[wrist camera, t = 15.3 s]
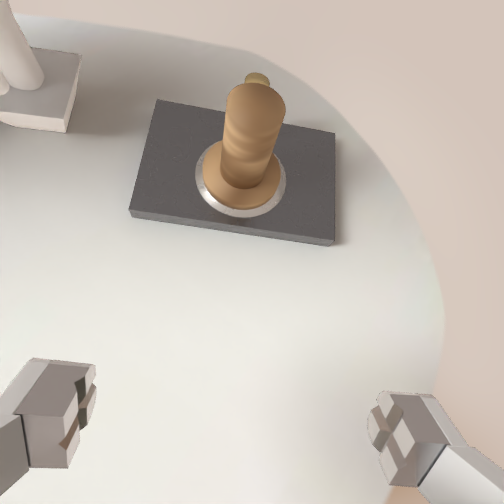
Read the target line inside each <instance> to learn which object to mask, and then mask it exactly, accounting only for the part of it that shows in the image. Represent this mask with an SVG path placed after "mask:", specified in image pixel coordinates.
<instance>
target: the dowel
mask: <svg viewBox="0 0 504 504" xmlns="http://www.w3.org/2000/svg"><path fill="white" fill-rule="evenodd" d="M245 83H260V84H263V85H266V86H268V87H269V85H270V83H269V80H268V78H267V77H266V76H264V75H263V74H260V73H250V74H248V75H247V76H246V78H245Z"/></svg>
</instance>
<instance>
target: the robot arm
mask: <svg viewBox="0 0 504 504" xmlns="http://www.w3.org/2000/svg"><path fill="white" fill-rule="evenodd" d="M95 376H96V368H95V365H93V364H86V363H77V362H69V361H60V360H49V359H40V358H32V359H31V360H29V361H28V362H26V364H25V365H24V366H23V368H22V369H21V370H20V371H19V373H18V374H17V375H16V377H15V378H14V379H13V380H12V382H11V383H10V384H9V386H8V387H7V388H6V389H5V391H4V392H3V393H2V394H1V396H0V496H1V495H2V494H3V493H4V492H5V491H7V490H8V489H9V488H10V487H11V486H12V485H13V484H14V483H15V482H17V481H18V480H19V479H20V478H21V477H22V476H23V475H24V474H25V473H27V472H28V471H29V468H68V467H69V465H70V463H71V460H72V458H73V456H74V454H75V451H76V449H77V447H78V445H79V442H80V433H79V431H80V430H81V429H83V428H84V427H85V426H86V425H87V424H88V422H89V420H90V417H91V415H92V412H93V408H94V405H95V399H96V386H95V385H94V384H93V383H92V382H93V380H94V378H95ZM376 400H377V403H378V406H376V407H375V408H373V409H372V410H371V412H370V414H369V416H368V424H367V429H368V434H369V437H370V440H371V442H372V445H373V446H374V447H375V448H376V449H377V450H378V451H379V452H380V457H379V462H380V465H381V467H382V469H383V472H384V474H385V477H386V479H387V482H388V484H389V485H394V486H406V487H407V486H408V487H418V490H419V491H420V493H421V494H422V495H423V496H424V497H425V498H426V500H427V501H428V502H429V503H430V504H504V470H503V469H501V468H500V467H499V466H498V465H496V464H495V463H494V462H493V461H491V460H490V459H489V458H487V457H486V456H485V455H484V454H482V453H481V452H480V451H478V450H477V449H476V448H474V447H469V446H468V444H467V443H466V441H465V440H464V438H463V437H462V435H461V434H460V433H459V431H458V430H457V428H456V427H455V425H454V424H453V422H452V421H451V419H450V418H449V416H448V415H447V414H446V412H445V411H444V409H443V408H442V406H441V405H440V403H439V402H438V400H437V399H436V398H435V397H434V396H432V395H428V394H416V393H415V394H413V393H405V392H392V391H382V392H381V393H379V395H378V397H377V399H376Z"/></svg>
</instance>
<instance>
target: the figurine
mask: <svg viewBox="0 0 504 504" xmlns="http://www.w3.org/2000/svg"><path fill="white" fill-rule="evenodd" d="M81 56H82V55H80V54H74V53H67V52H61V51H54V50H47V49H41V48H34V47H30V46H29V44H28V42H27V41H26V39H25V37H24V35H23V33H22V31H21V29H20V27H19V25H18V23H17V21H16V20H15V18H14V16H13V14H12V11H11V8H10V5H9V1H8V0H0V121H2V122H4V123H7V124H9V125H12V126H14V127H20V128H29V129H37V130H46V131H54V132H62V133H66V130H67V126H68V123H69V119H70V115H71V112H72V108H73V104H74V101H75V97H76V91H77V84H78V77H79V70H80V63H81Z"/></svg>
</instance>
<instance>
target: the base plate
mask: <svg viewBox="0 0 504 504" xmlns="http://www.w3.org/2000/svg"><path fill="white" fill-rule="evenodd" d="M225 114H226V112H221V111H216V110H210V109H205V108H200V107H195V106H189V105H184V104H179V103H174V102H169V101H163V100H158V99H157V101H156V105H155V109H154V113H153V117H152V121H151V125H150V129H149V133H148V136H147V140H146V144H145V148H144V152H143V156H142V160H141V164H140V167H139V171H138V175H137V179H136V183H135V187H134V191H133V195H132V199H131V202H130V206H129V211H130V213H131V216H132V217H134V218H141V219H148V220H154V221H161V222H168V223H174V224H181V225H188V226H195V227H201V228H208V229H215V230H221V231H228V232H235V233H241V234H248V235H255V236H261V237H268V238H275V239H282V240H288V241H295V242H302V243H308V244H315V245H322V246H330V245H331V244H332V243H333V242H334V241H335V133H331V132H325V131H320V130H315V129H310V128H305V127H299V126H294V125H289V124H284V123H282V125H281V128H280V130H279V133H278V136H277V139H276V142H275V145H274V148H273V151H272V152H273V154H274V155H275V157H276V158H277V160H278V162H279V165H280V170H281V178H280V183H279V185H278V188H277V190H276V192H275V194H274V196H273V197H272V198H271V199H270V200H269V201H268V202H267V203H266V204H264V205H262V206H260V207H258V208H255V209H250V210H237V209H232V208H229V207H226V206H224V205H222V204H221V203H219V202H218V201H216V200H215V199H214V198H213V197H212V196H211V195H210V194H209V192H208V191H207V189H206V187H205V185H204V181H203V161H204V158H205V155H206V153H207V152H208V150H209V149H210V148H211V147H212V146H213V145H214V144H216V143H217V142H219V141H221V140H223V133H224V124H225Z"/></svg>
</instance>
